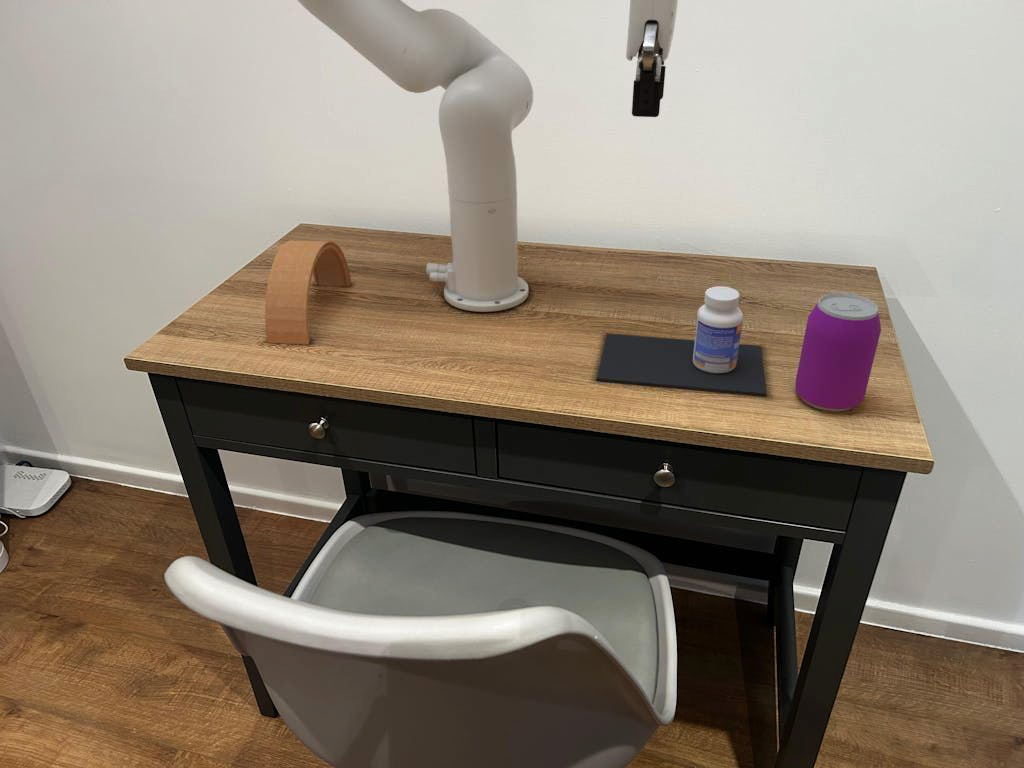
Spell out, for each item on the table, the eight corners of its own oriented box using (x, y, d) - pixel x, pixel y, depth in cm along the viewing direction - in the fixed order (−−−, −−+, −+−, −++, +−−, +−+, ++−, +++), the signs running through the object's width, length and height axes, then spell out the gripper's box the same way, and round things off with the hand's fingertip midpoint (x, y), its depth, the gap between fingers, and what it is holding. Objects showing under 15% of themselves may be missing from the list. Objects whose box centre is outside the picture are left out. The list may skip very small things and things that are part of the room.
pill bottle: (740, 374, 98) (751, 302, 93) (696, 375, 98) (704, 302, 93) (730, 353, 103) (740, 283, 98) (688, 353, 103) (696, 283, 98)
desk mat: (596, 380, 98) (596, 378, 98) (606, 335, 108) (606, 333, 108) (766, 396, 95) (766, 393, 94) (760, 348, 105) (760, 345, 104)
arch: (352, 283, 124) (344, 221, 119) (308, 344, 107) (296, 275, 102) (316, 282, 125) (307, 220, 120) (266, 342, 108) (253, 273, 103)
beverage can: (855, 383, 97) (877, 291, 91) (868, 417, 90) (893, 322, 84) (789, 378, 98) (806, 288, 92) (798, 412, 91) (817, 318, 85)
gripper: (632, -54, 99) (623, 92, 108) (618, -45, 84) (610, 122, 93) (694, -54, 97) (680, 93, 106) (691, -45, 83) (676, 125, 92)
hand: (647, 107), depth 100 cm, fingers open, 9 cm apart
